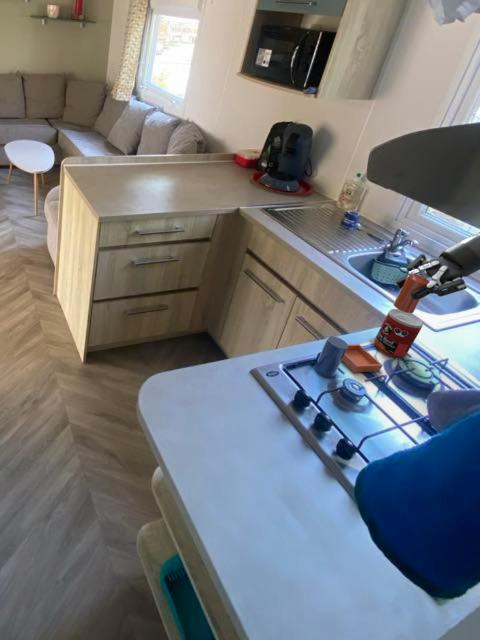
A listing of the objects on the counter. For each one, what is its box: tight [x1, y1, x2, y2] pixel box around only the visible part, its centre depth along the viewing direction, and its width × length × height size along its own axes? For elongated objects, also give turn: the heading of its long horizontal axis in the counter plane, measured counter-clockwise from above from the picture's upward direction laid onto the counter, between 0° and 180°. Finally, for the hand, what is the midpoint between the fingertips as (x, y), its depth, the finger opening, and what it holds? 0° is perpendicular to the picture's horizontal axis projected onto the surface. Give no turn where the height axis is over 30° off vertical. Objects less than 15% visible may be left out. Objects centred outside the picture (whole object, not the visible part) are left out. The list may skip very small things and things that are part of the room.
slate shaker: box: [314, 335, 349, 378], centre depth 104 cm, size 5×5×9 cm
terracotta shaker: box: [393, 274, 430, 314], centre depth 108 cm, size 5×5×9 cm
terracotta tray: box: [341, 343, 383, 373], centre depth 111 cm, size 8×8×2 cm
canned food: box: [373, 308, 424, 359], centre depth 116 cm, size 8×8×11 cm
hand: (405, 290), depth 108 cm, fingers closed on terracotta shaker, 4 cm apart
